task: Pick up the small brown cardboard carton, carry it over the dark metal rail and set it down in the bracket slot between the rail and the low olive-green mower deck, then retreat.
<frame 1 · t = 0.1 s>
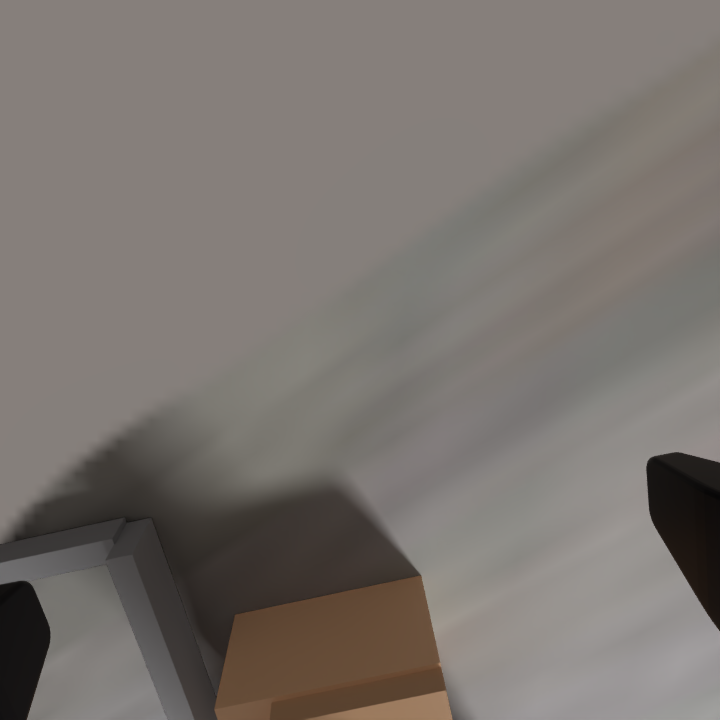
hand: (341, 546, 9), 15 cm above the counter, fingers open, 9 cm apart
brown cardboard carton: (340, 640, 27), on the counter
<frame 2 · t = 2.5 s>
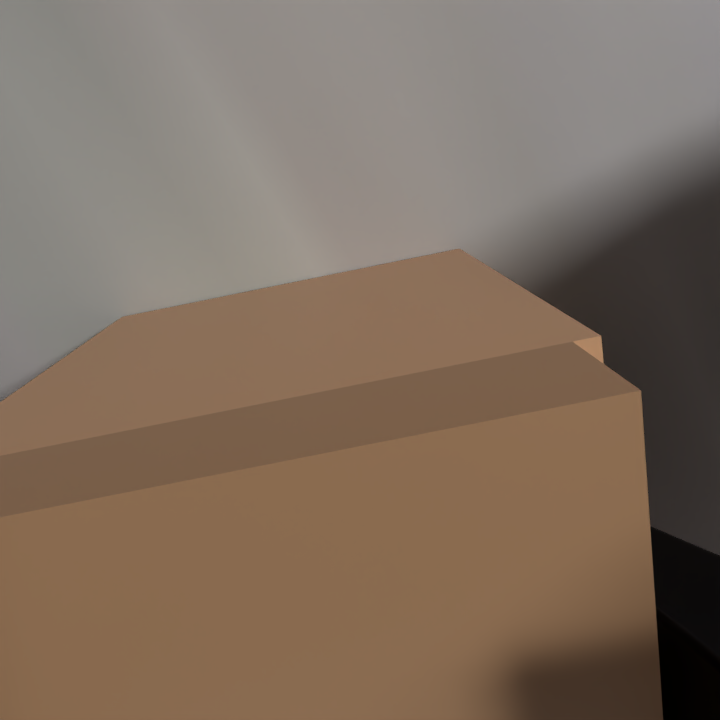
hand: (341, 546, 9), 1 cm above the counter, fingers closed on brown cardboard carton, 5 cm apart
brown cardboard carton: (345, 521, 10), on the counter, touching gripper
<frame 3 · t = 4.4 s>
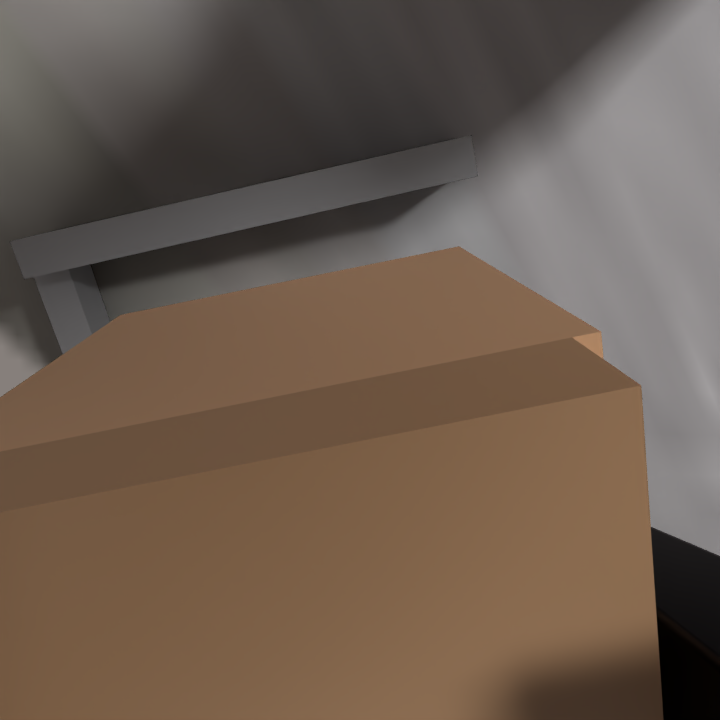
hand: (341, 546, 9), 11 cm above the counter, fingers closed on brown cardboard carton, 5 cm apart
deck: (413, 619, 23), on the counter
brown cardboard carton: (344, 519, 10), point 10 cm above the counter, touching gripper
when the fingers open (3 cm above the counter, at t = 6.4 s): brown cardboard carton drops 2 cm, on the counter.
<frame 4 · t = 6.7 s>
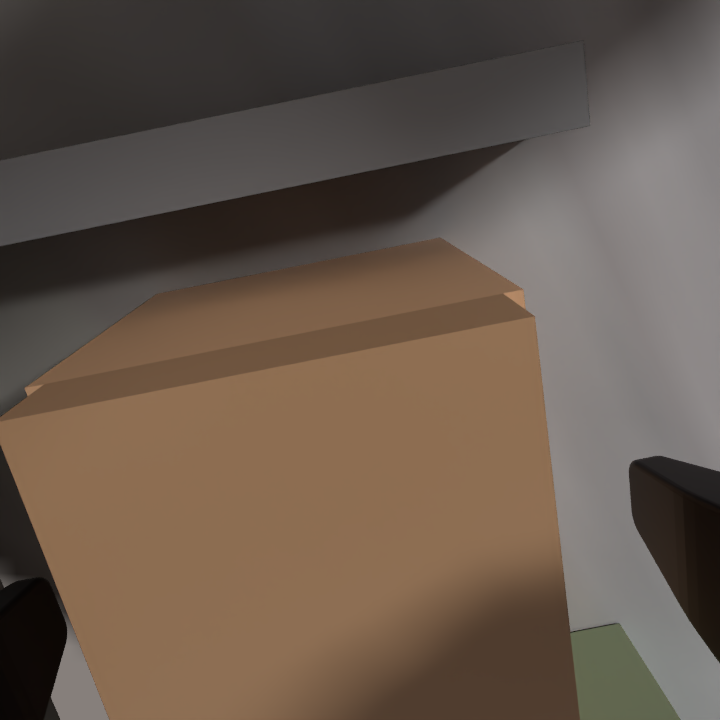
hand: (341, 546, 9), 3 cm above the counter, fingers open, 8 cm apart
brown cardboard carton: (343, 468, 12), on the counter
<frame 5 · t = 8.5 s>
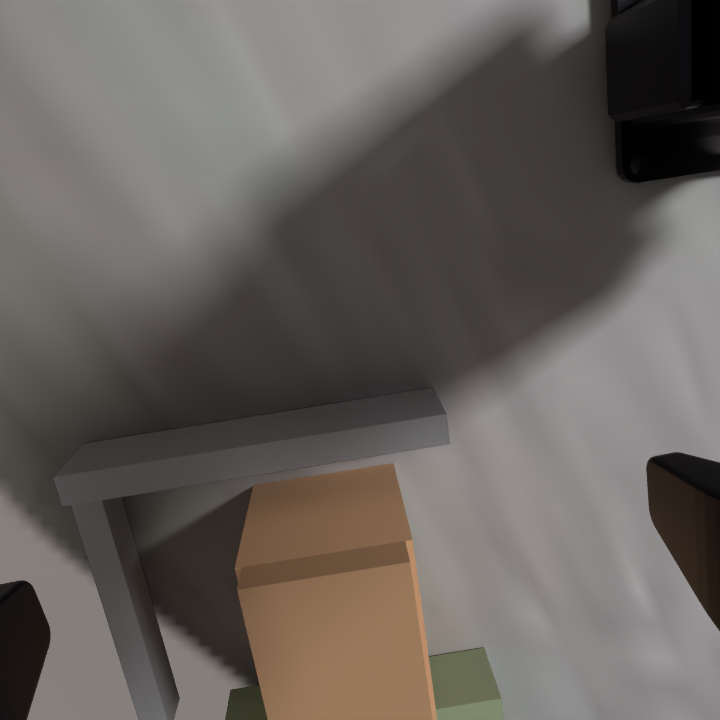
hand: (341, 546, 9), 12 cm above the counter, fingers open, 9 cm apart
brown cardboard carton: (340, 569, 23), on the counter
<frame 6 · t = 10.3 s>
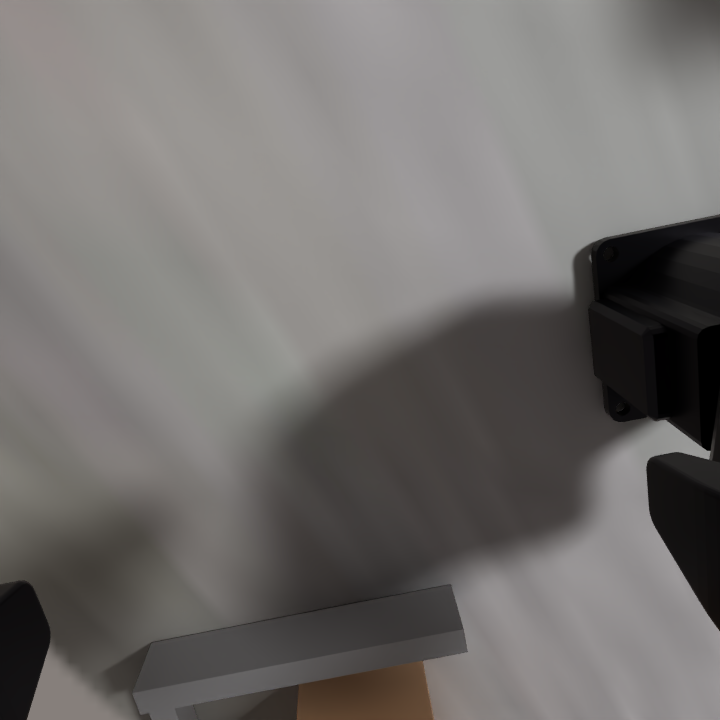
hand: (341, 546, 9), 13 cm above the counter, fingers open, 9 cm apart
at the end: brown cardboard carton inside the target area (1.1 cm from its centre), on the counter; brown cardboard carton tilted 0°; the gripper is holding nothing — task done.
